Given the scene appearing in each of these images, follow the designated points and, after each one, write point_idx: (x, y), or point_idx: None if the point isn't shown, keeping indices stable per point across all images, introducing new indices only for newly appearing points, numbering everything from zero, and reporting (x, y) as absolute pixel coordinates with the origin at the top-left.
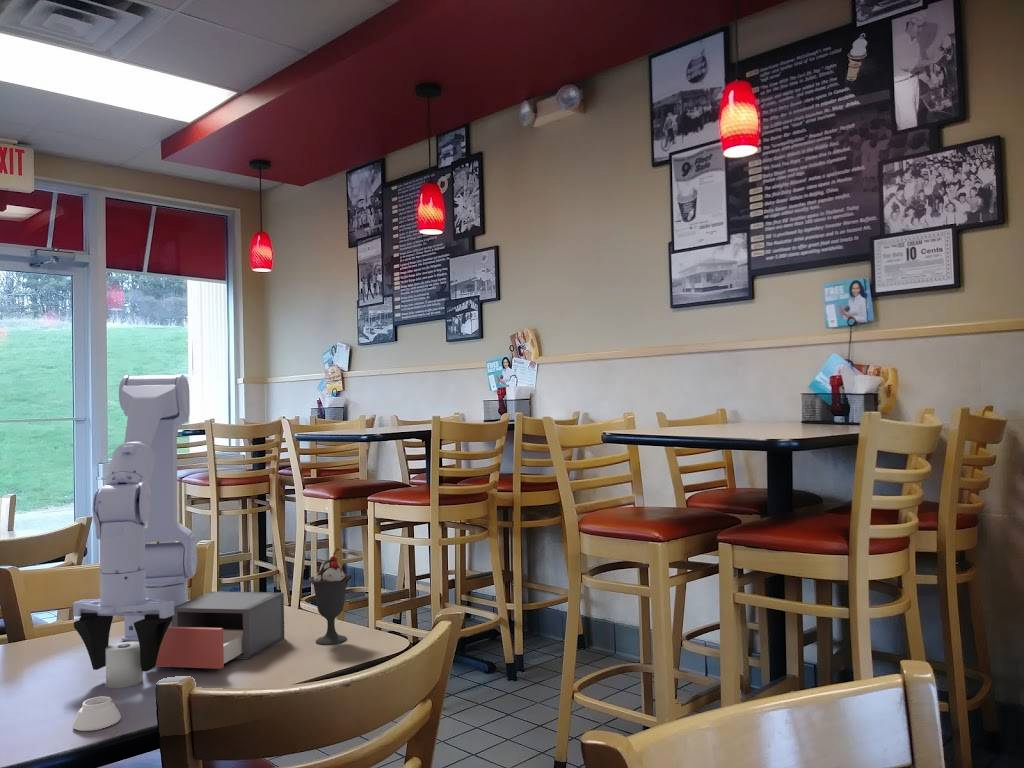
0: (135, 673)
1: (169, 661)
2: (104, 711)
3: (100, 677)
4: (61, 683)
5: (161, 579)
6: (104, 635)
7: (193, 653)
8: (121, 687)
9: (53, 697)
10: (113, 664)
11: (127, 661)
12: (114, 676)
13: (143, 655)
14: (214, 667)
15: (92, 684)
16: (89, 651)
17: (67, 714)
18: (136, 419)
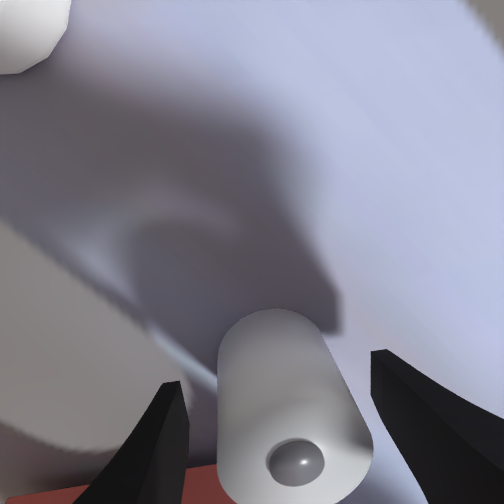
0: (218, 376)
1: (195, 483)
2: None
3: None
4: (477, 298)
5: None
6: (440, 498)
7: None
8: (241, 319)
9: (408, 187)
10: (276, 358)
11: (229, 389)
12: (265, 331)
13: (146, 425)
14: (30, 497)
15: (365, 317)
16: (432, 387)
17: (211, 48)
18: None
